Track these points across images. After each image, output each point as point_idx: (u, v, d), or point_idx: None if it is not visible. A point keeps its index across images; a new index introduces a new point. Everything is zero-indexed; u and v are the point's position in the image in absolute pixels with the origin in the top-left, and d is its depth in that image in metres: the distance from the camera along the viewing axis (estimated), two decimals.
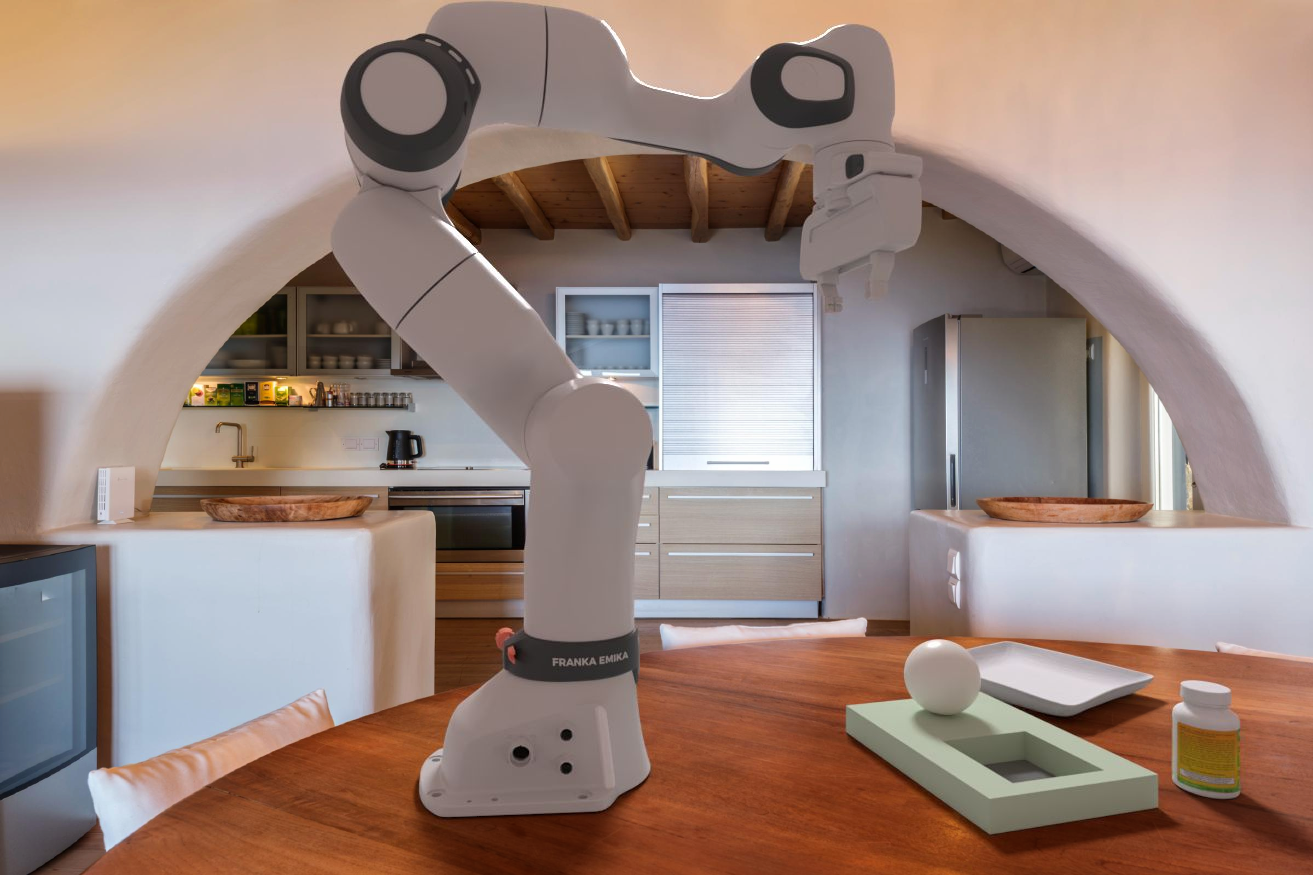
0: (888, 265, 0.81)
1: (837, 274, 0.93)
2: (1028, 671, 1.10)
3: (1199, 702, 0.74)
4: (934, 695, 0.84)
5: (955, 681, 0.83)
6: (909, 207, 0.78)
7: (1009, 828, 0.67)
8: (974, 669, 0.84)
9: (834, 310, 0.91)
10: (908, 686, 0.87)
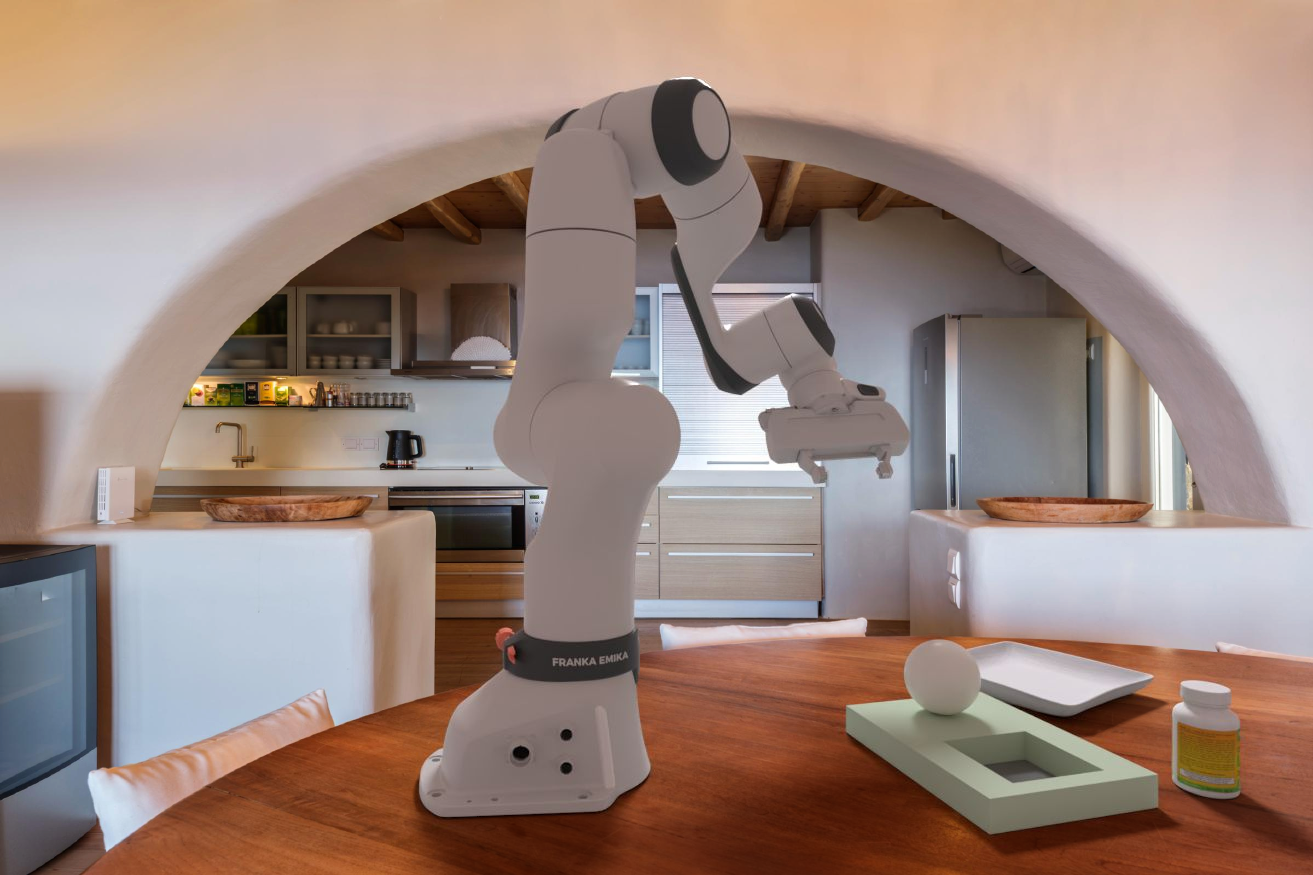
0: None
1: None
2: (1028, 671, 1.10)
3: (1198, 702, 0.74)
4: (934, 695, 0.84)
5: (955, 681, 0.83)
6: None
7: (1009, 828, 0.67)
8: (974, 669, 0.84)
9: None
10: (908, 686, 0.87)
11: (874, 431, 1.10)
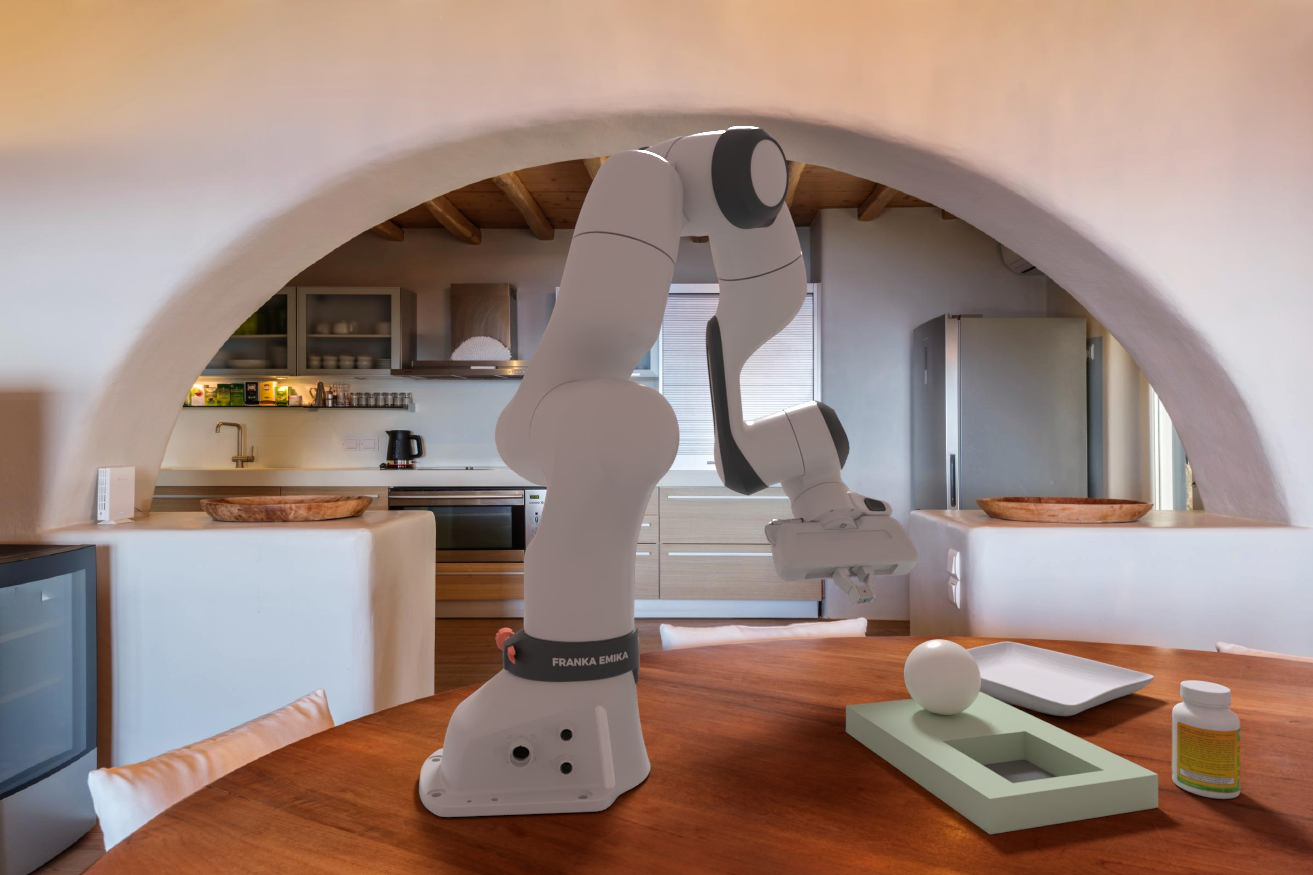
0: None
1: None
2: (1028, 671, 1.10)
3: (1198, 702, 0.74)
4: (934, 695, 0.84)
5: (955, 681, 0.83)
6: None
7: (1009, 828, 0.67)
8: (974, 669, 0.84)
9: None
10: (908, 686, 0.87)
11: (882, 550, 1.07)
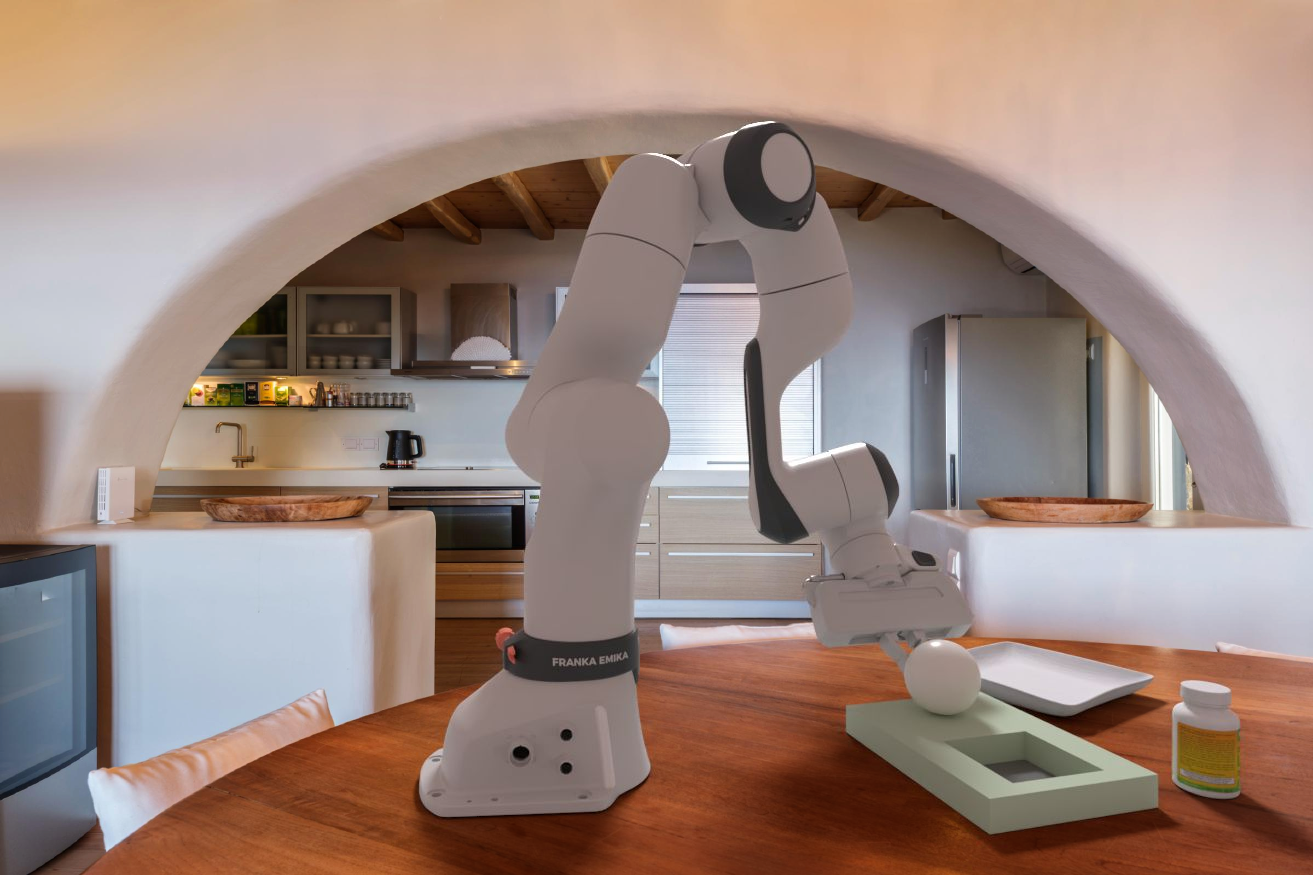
0: None
1: None
2: (1028, 671, 1.10)
3: (1199, 702, 0.74)
4: (934, 695, 0.84)
5: (955, 681, 0.83)
6: None
7: (1009, 828, 0.67)
8: (974, 669, 0.84)
9: None
10: (908, 686, 0.87)
11: (934, 611, 0.96)
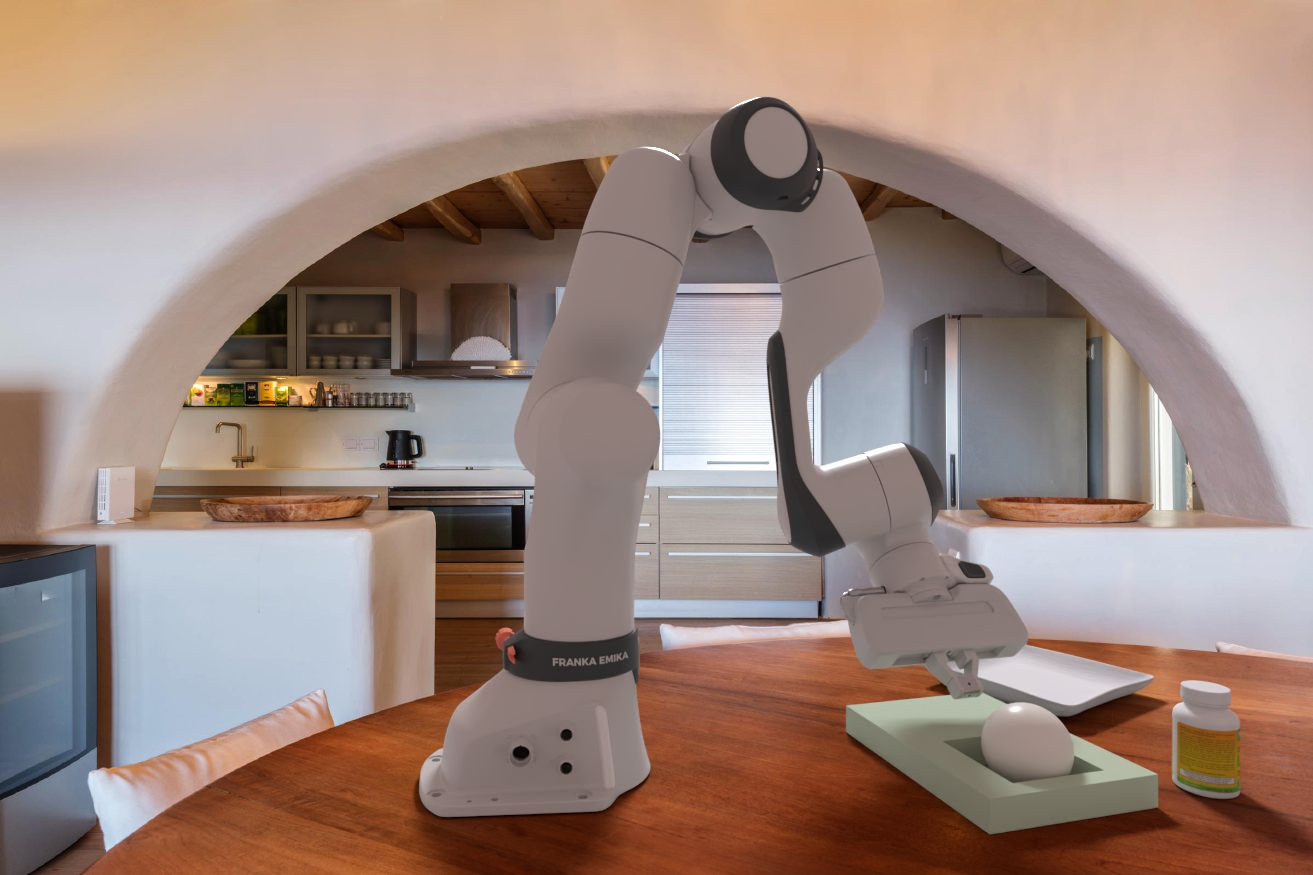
0: None
1: None
2: (1028, 671, 1.10)
3: (1199, 702, 0.74)
4: (982, 747, 0.75)
5: None
6: None
7: (1009, 828, 0.67)
8: None
9: None
10: (1007, 771, 0.72)
11: (986, 628, 0.87)
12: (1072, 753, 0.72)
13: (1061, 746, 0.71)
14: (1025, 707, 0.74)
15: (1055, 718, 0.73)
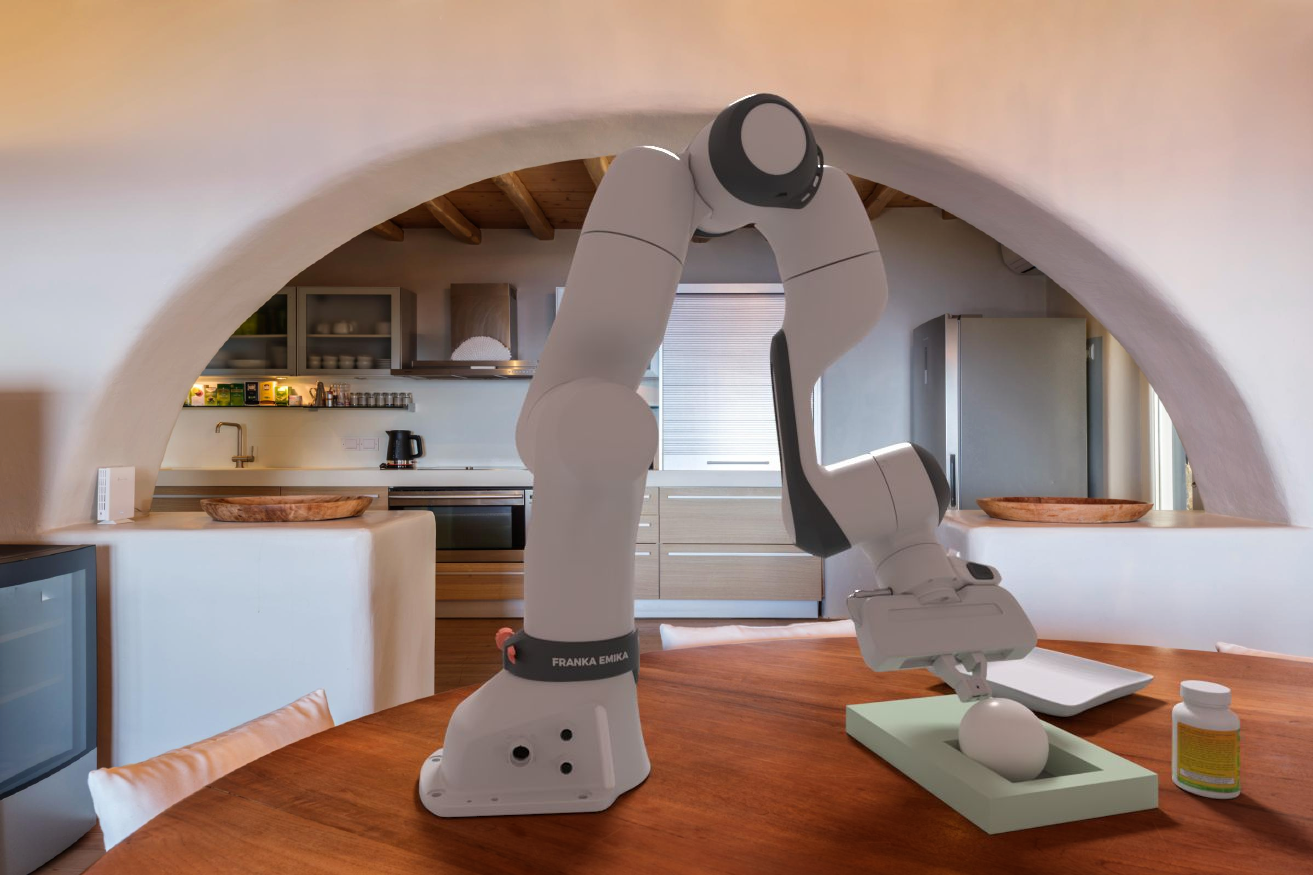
0: None
1: None
2: (1028, 671, 1.10)
3: (1198, 702, 0.74)
4: None
5: None
6: None
7: (1009, 828, 0.67)
8: None
9: None
10: None
11: (994, 630, 0.86)
12: (1037, 725, 0.74)
13: (1020, 722, 0.73)
14: (979, 703, 0.77)
15: (1008, 701, 0.76)
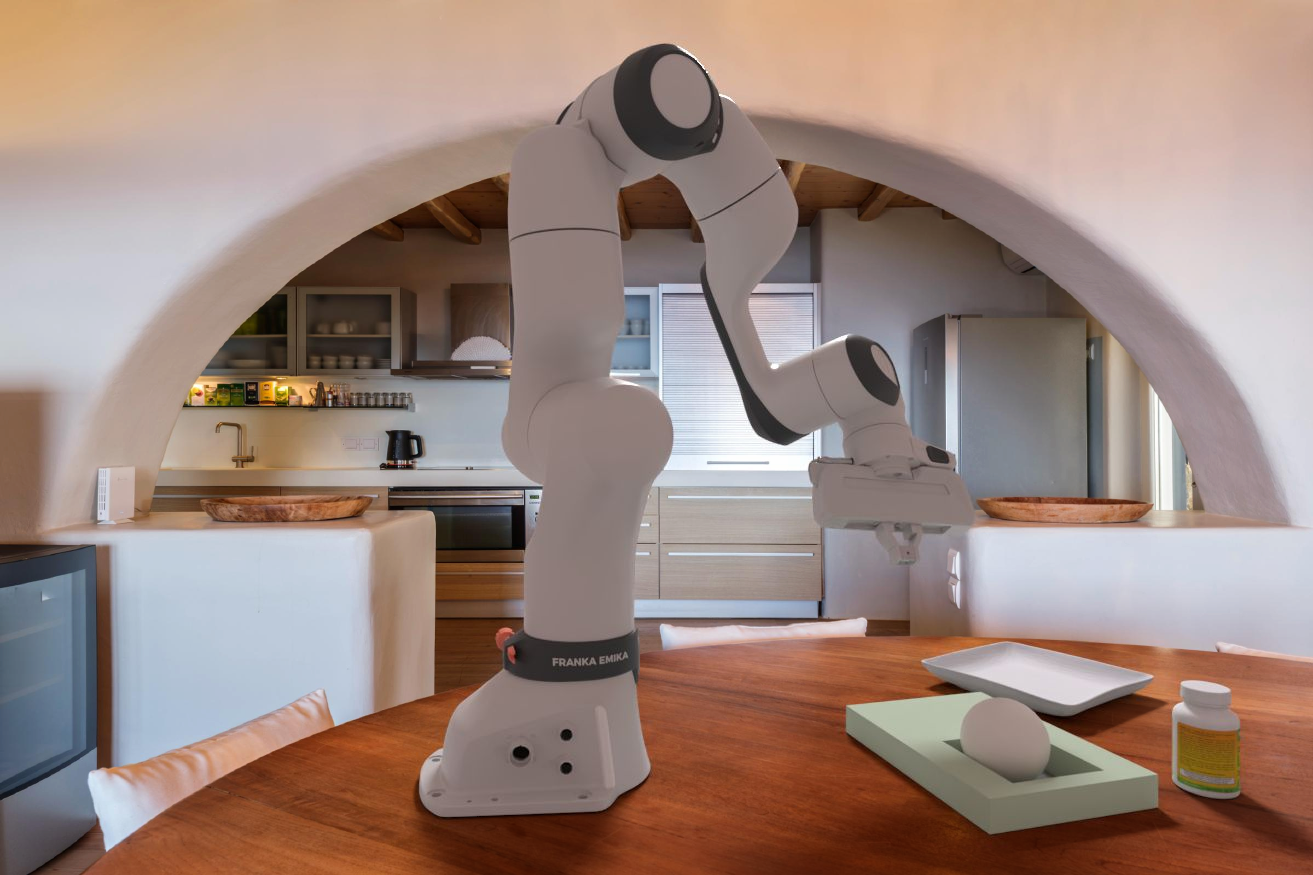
0: None
1: None
2: (1028, 671, 1.10)
3: (1199, 702, 0.74)
4: None
5: None
6: None
7: (1009, 828, 0.67)
8: None
9: None
10: (990, 767, 0.73)
11: (937, 508, 0.95)
12: (1039, 726, 0.74)
13: (1023, 721, 0.73)
14: (982, 701, 0.77)
15: (1011, 700, 0.76)
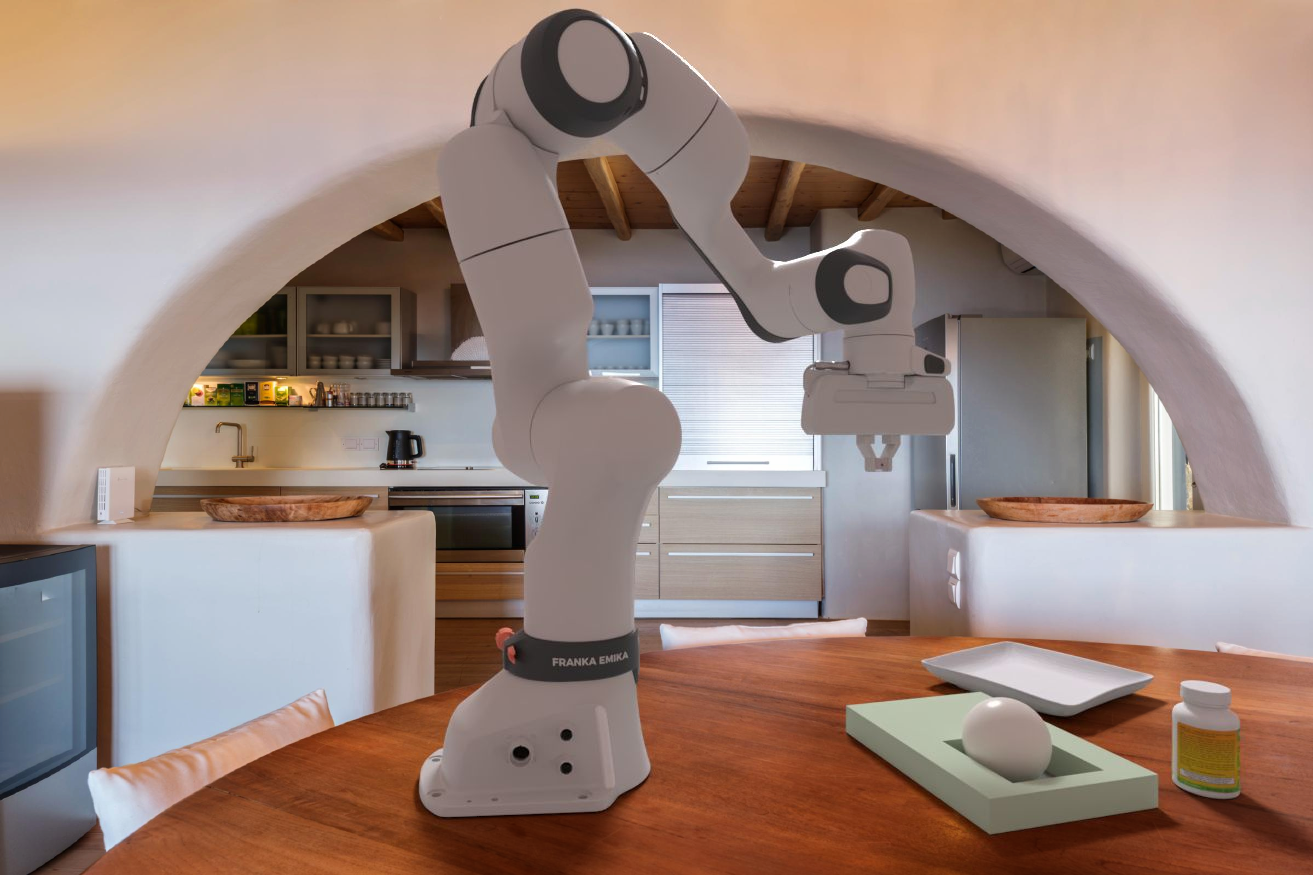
0: None
1: None
2: (1028, 671, 1.10)
3: (1198, 702, 0.74)
4: None
5: None
6: None
7: (1009, 828, 0.67)
8: None
9: None
10: (991, 765, 0.73)
11: (919, 419, 0.99)
12: (1042, 726, 0.74)
13: (1025, 721, 0.73)
14: (985, 700, 0.77)
15: (1014, 700, 0.76)
